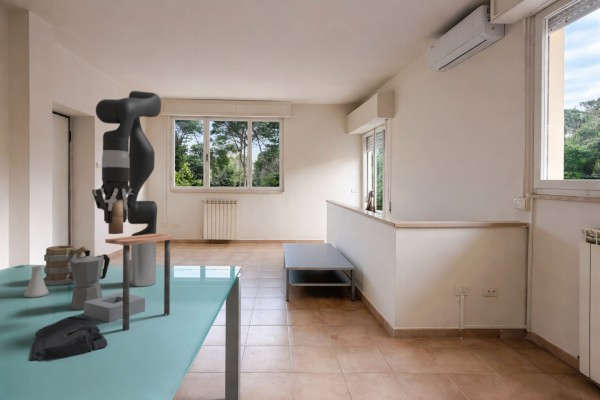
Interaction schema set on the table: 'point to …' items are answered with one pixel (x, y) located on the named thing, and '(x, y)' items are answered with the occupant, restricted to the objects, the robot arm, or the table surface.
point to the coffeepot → (87, 278)
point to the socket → (112, 307)
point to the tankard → (60, 264)
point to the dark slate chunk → (67, 339)
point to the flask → (36, 284)
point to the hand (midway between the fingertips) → (115, 222)
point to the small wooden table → (126, 268)
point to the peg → (116, 218)
